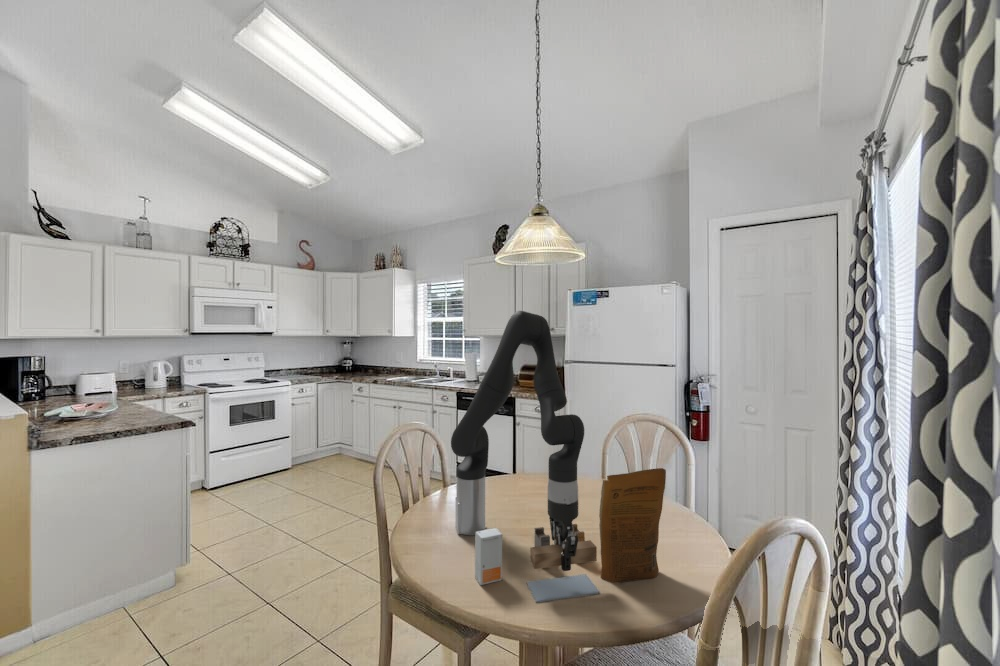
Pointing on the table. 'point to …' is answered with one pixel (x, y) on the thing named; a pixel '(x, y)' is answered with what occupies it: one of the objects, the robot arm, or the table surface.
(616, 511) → the pancake mix bag
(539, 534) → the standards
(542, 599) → the mat
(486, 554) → the skincare box
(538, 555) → the rail
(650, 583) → the table surface
